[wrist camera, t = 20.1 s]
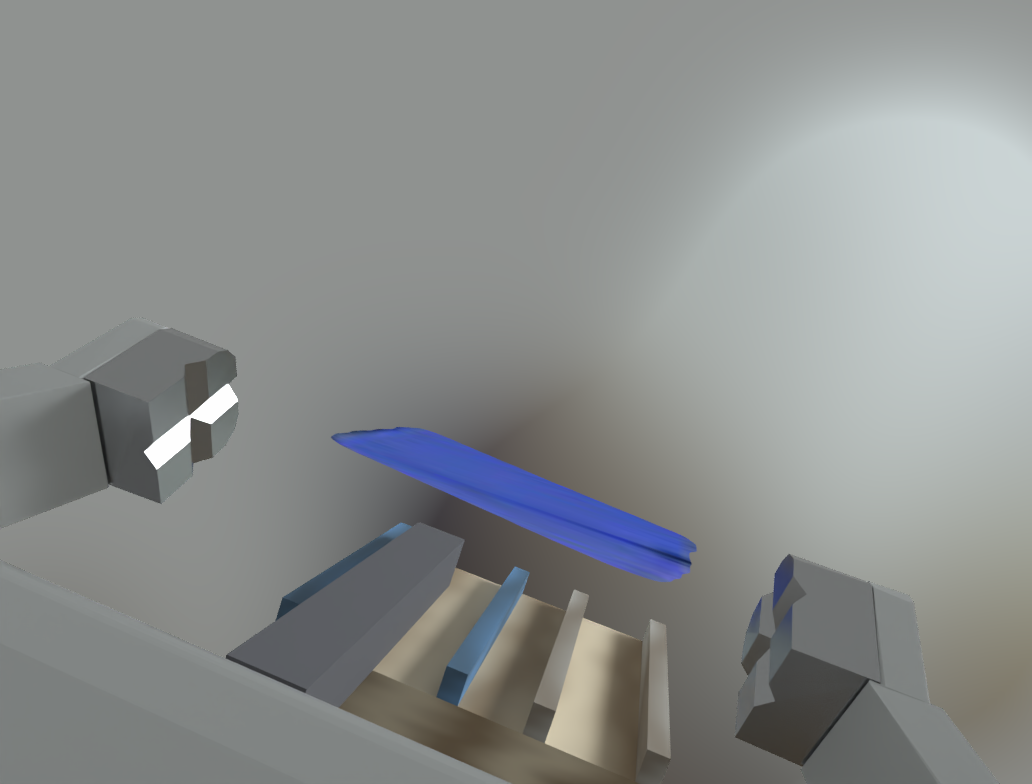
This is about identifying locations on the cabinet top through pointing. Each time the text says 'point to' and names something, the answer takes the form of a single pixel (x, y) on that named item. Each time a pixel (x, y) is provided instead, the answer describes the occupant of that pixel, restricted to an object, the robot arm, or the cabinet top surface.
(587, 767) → the riser
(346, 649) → the dark grey piece
